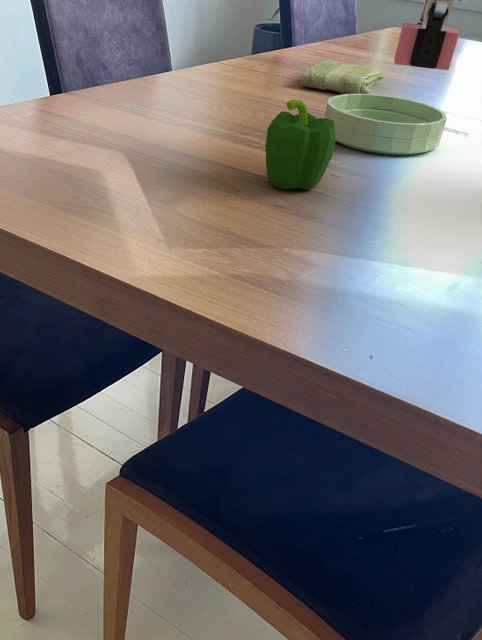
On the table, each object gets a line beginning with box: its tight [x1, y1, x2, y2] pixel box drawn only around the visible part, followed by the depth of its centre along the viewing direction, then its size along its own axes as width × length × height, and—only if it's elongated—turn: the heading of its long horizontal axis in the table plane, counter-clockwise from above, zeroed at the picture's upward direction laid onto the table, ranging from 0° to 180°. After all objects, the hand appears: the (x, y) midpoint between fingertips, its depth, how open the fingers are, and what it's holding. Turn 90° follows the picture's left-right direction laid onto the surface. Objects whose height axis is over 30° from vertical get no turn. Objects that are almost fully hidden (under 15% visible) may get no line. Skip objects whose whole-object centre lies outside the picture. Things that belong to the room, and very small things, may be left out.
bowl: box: [323, 93, 448, 156], centre depth 109 cm, size 17×17×4 cm
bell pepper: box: [264, 99, 337, 190], centre depth 88 cm, size 8×8×10 cm
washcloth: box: [300, 59, 384, 95], centre depth 138 cm, size 13×18×3 cm
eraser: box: [393, 22, 460, 71], centre depth 90 cm, size 6×4×4 cm, turn 75°
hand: (422, 61), depth 91 cm, fingers closed on eraser, 4 cm apart
